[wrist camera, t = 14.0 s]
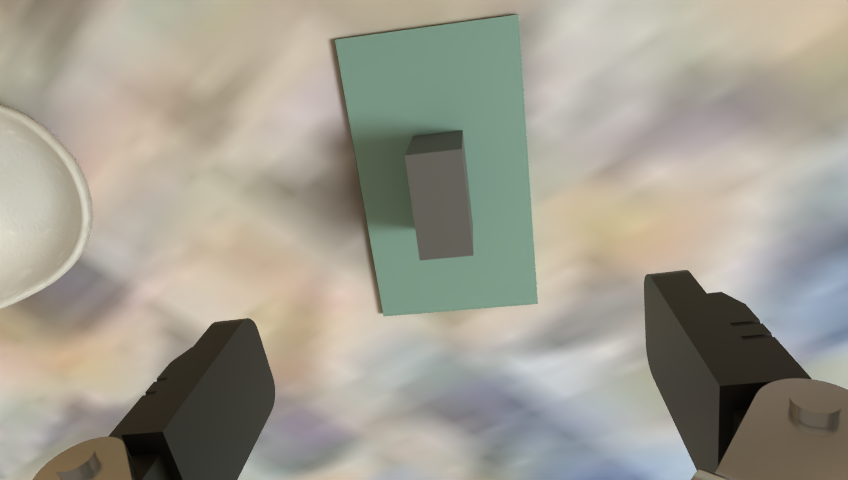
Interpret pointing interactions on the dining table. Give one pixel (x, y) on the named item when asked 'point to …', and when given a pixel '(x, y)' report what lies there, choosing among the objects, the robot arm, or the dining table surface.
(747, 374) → the robot arm
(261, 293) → the dining table surface
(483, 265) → the cover plate
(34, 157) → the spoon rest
